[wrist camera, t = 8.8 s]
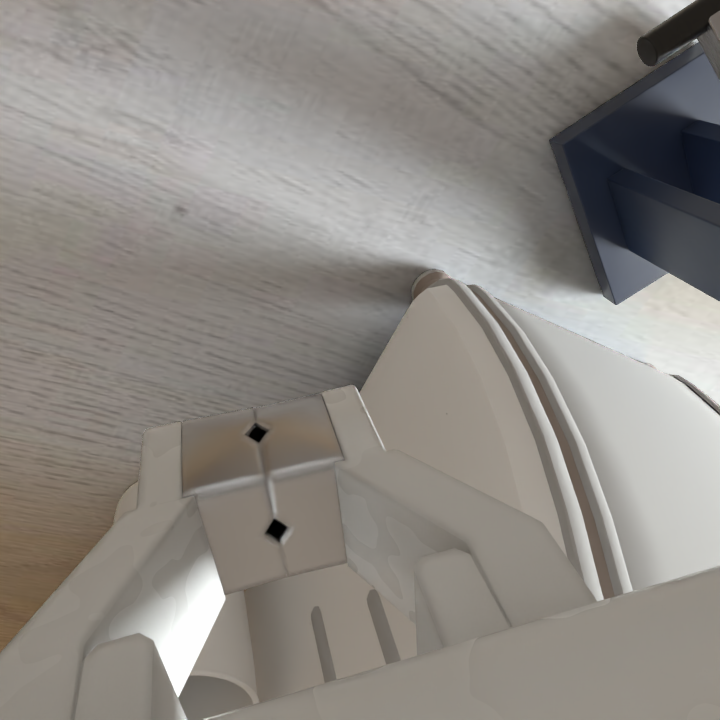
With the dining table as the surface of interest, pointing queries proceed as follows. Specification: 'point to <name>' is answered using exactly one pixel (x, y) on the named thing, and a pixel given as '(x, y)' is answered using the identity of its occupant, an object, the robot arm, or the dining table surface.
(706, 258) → the bracket
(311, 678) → the toaster
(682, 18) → the lever
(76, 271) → the dining table surface
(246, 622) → the mug
